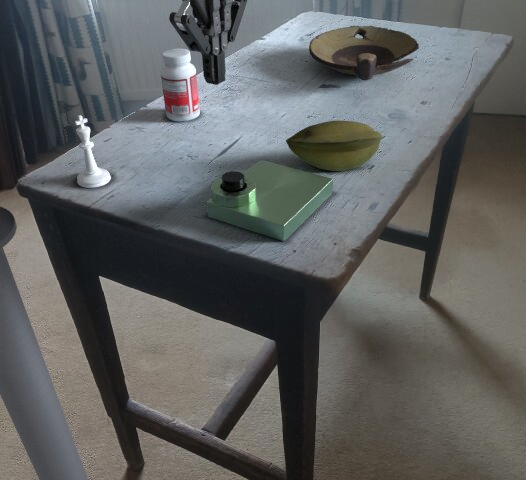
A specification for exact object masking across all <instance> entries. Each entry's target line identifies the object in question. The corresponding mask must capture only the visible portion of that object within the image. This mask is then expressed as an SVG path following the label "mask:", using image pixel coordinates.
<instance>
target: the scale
mask: <svg viewBox="0 0 526 480" xmlns="http://www.w3.org/2000/svg"><path fill="white" fill-rule="evenodd" d="M243 174H244V180H245V189H244V190H243V191H240V192H226V191H224V190H223V189H222V176H221V177H218V178H217V179H215V180H214V181H213V182H212V183H211V187H210V193H211V194H210V195H211V197H210V198H209V199H208V200H207V201H206V210H207V211H206V212H207V217H208V218H211V219H214V220H217V221H221V222H223V223H226V224H229V225H233V226H235V227H238V228H242V229H244V230H248V231H251V232H254V233H256V234H260V235H262V236H266V237H269V238H272V239H274V240H278V241H282V242H285V241H286V240H287V239H288V238H289V237H290V236H291V235H292V234H293V233H294V232H295V231H296V230H297V229H298V228H299V227H300V226H301V225H302V224H303V223H304V222H305V221H306V220H307V219H308V218H309V217H310V216H311V215H313V213H314V212H315V211H316V210H317V209H318V208H320V207H321V205H323V204H324V203H325V201H327V199H328V198H330V197H331V195H332V194H333V190H334V189H333V188H334V178H331V177H328V176H324V175H320V174H316V173H312V172H308V171H305V170H301V169H297V168H294V167H289V166H287V165H282V164H278V163H275V162H271V161H267V160H263V159H260V160H259V161H257V162H256V163H255V164H253V165H252V166H251V167H249V168H248V169H247V170H245V171H244V172H243Z"/></svg>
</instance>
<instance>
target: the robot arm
mask: <svg viewBox="0 0 526 480" xmlns="http://www.w3.org/2000/svg"><path fill="white" fill-rule="evenodd" d="M181 1H182V3H181V5H180V7H179V8H178V11H177V12H175V11H172V12H170V14H169V17H168V19H169V22H170V24H171V25H172V27H173V29H174V30H175V31H176V33H177V35H178V36H179V37H180V38H181V40H182V41H183V43H184V44H185V45H186V47H187V48H188V50H189V51H191V52H197V53H200V55H201V62H202V71H203V72H202V73H203V74H202V75H203V78H204V81H205V83H207V84H209V85H213V86H218V85H219V84H221V83H223V82H225V81H226V70H227V69H226V51H227V50H228V45H229V44H230V43H234V42H235V40H236V37H237V35H238V31H239V28H240V25H241V22H242V18H243V16H244V13H245V10H246V7H247V4H248V0H181Z"/></svg>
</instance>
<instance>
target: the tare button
mask: <svg viewBox="0 0 526 480" xmlns="http://www.w3.org/2000/svg"><path fill="white" fill-rule="evenodd" d="M243 173H244V172H243ZM243 173H242V172H241V171H237V170H230V171H227V172H224V173H223V174H222V175H221V177H222V189H223V190H224V191H226V192H240V191H243V190H244V189H245V180H244V174H243Z"/></svg>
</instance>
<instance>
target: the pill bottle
mask: <svg viewBox="0 0 526 480" xmlns="http://www.w3.org/2000/svg"><path fill="white" fill-rule="evenodd" d="M191 57H192V56H191V52H190V50H189V49H186V48H181V47H179V48H178V47H177V48H170V49H167V50H165V51H162V61H163V64H164V65H162V67H161V69H160V81H161V87H162V88H161V89H162V94H163V96H162V97H163V103H164V109H165V110H164V111H165V115H166V117H167V119H168V120H171V121H174V122H187V121H191V120H195V119H196V118H197V117H199V116H200V113H201V108H200V98H199V97H200V95H199V87H198V77H197V70H196V69H197V68H196V67H195V65H194V64H192V63H191V61H192V60H191V59H192V58H191Z"/></svg>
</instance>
